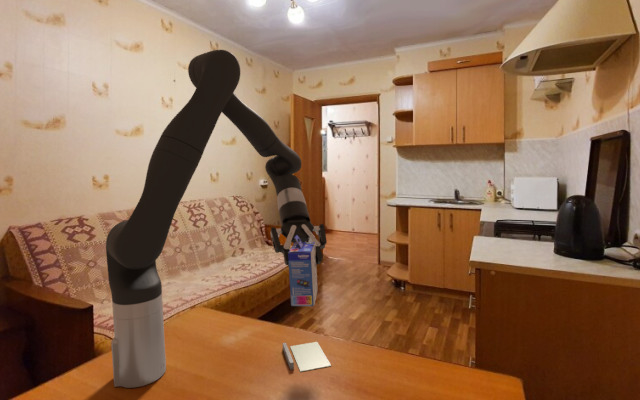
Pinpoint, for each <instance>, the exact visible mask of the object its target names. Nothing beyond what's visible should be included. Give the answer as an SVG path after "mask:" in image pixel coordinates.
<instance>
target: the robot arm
mask: <svg viewBox="0 0 640 400" xmlns="http://www.w3.org/2000/svg"><path fill="white" fill-rule="evenodd" d="M187 73H188V77H189V80H190V82H191V83H192V85H193V87H195V90H194V92H193V94H192V96H191V97H190V99H189V100H188V101H187V103H186V104H185V105H184V106H183V107H182V109H181V110H179V111H178V112H177V114H175V116H174V117H173V118H172V119H171V120H170V122H169V123H168V124H167V125H166V126H165V128H164V130H163V132H162V133H161V135H160V137H159V139H158V141H157V143H156V145H155V147H154V150H153V152H152V154H151V156H150V160H149V163H148V167H147V170H146V174H145V175H146V177H145V181H144V186H143V190H142V193H141V195H140V198H139V200H138V202H137V204H136V206H135V207H134V209H133V211H132V213H131V215H130V216H129V218H128V219H127V220H123V221H121V222H118V223H117V224H115V225H114V226H113V227H112V228H111V229H110V231H109V232H108V233H107V237H106V240H105V251H106V252H105V254H106V266H107V276H108V277H107V278H108V285H109V289H110V293H111V304H112V319H113V331H114V332H113V333H114V337H113V339H112V340H111V345H110V346H111V357H112V372H113V375H112V376H113V386H114V388H115V387H121V388H122V387H123V388H126V389H127V388H129V389H131V388H133V389H134V388H138V387H144V386H147V385H149V384H151V383H154V382H156V381H158V380H159V379H160V378H161V377H162V376H164V374H165V373H166V370H167V365H166V364H167V359H166V347H165V346H166V341H165V327H164V326H165V325H164V306H163V288H162V286H163V285H162V281H161V277H160V275H159V273H158V268H157V261H156V260H158V259H159V257H160V256H161V254H162V252H163V249H164V247H165V244H166V242H167V238H168V235H169V232H170V229H171V226H172V222H173V220H174V217H175V214H176V212H177V209H178V207H179V205H180V203H181V201H182V199H183V196H184V195H185V193H186V191H187V189H188V186H189V184H190V183H191V179H192V178H193V176H194V174H195V173H196V170H197V168H198V166H199V163H200V162H201V159H202V156H203V154H204V151H205V149H206V147H207V144H208V143H209V140H210V138H211V136H212V134H213V132H214V130H215V127H216V125H217V123H218V120H219V118H220V116H221V114H223V115H224V116H225V117H227V119H229V121H230V122H231V123H232V124H233V125H234V126H235V127H236V128H237V129H238V130H239V131H240V133H242V135H243V136H244V137H245V139H247V141H248V142H249V143H250V145H251V146H252V147H253V149H254V150H255V151H256V152H257V153H258V155H259V156H261V157H263V158H268V157H271V158H269V159H268V160H266V163H265V167H264V168H265V172H266V174H267V175H268V177H269V178H270V180H271V182H272V183H273V186H274V188H275V194H276V198H277V210H278V211H277V212H278V215H279V219H280V225H281V227H279V228H276V227H274V226H271V228H270V233H269V236H270V238H271V242H272V243H271V244H272V246H273V250H274V252H275V253H276V254H279V253H281V254H282V256H283V259H284V264H285V266H287V268H289V260H288V252H289V251H290V249H291V248H290V247H292V245H291V244H294V243H295V242H296V240H295V239H294V238H295V237H296V235H297V236H298V237H299V238H300V240H301V242H315V247H316V265H320V264H321V263H322V260H323V257H324V256H323V252H322V249H325V248H326V245H327V235H326V229H325V224H323V223H321V224H319V225H314V224H313V223H312V222H311V217H310V213H309V210H308V206H307V202H306V198H305V196H304V193H303V190H302V186H301V182H300V179H299V178H298V177H297V175H294V174H296V173H297V172H299V171H300V170H301V169H302V160H301V157H300V155H298V153H297V152H296V151H295V150H293V149H292V148H291V147H289V146H288V145H287V144H285V142H283V141H282V140H281V139H280V138H279V137H278V135H277V134H276V133H275V131H274V130H273V128H272V127H271V126H270V125H269V123H268V121H266V119H264V118H263V117H262V116H261V115H260V114H259V113H257V112H256V111H255V110H254V109H252V108H251V107H250V106H248V105H247V104H246V103H245V102H243V101H242V100H241V99H240V98H239V96H238V95H236V94H235V90H236V89H237V87H238V85H239V83H240V80H241V79H240V78H241V66H240V63H239V60H238V58H237V57H236V55H235V54H233V53H232V52H230V51H229V50H226V49H214V50H210V51H207V52H204V53H202V54H199V55H196V56H194V57H193V58H192V59H191V60H190V62H189V64H188V68H187ZM313 232H315V234H316V235H317V236H318V238H316V236H315V235H314V234H313ZM281 235H282V236H283V237H284V238H285V243H284V245H283V244H281V241H280V236H281ZM298 242H299V240H298Z"/></svg>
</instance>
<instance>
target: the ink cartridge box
mask: <svg viewBox="0 0 640 400" xmlns="http://www.w3.org/2000/svg"><path fill="white" fill-rule="evenodd" d="M294 239H295V240H296V242H295V243H292V244H293V245H291V248H289V249H290V251H289V252H288V260H289V267H288V275H289V289H290V290H289V291H290V293H289V294H290V305H291V307H314V306H315V303H316V299H317V296H318V295H317V294H318V274H317V273H318V271H317V264H316V247H315V242H301V240H300V238H299V237H298V236H297V235H296V237H295V238H294ZM298 240H299V242H298Z"/></svg>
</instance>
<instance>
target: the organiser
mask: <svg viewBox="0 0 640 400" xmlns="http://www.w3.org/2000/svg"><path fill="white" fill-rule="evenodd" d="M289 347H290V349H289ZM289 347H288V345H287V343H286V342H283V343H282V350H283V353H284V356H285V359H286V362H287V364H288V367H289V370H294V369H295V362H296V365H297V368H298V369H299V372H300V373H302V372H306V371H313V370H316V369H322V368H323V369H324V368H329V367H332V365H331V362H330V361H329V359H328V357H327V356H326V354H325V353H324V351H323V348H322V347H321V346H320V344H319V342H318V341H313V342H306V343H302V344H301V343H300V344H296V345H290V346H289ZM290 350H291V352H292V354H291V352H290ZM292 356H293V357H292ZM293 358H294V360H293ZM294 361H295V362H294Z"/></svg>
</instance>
